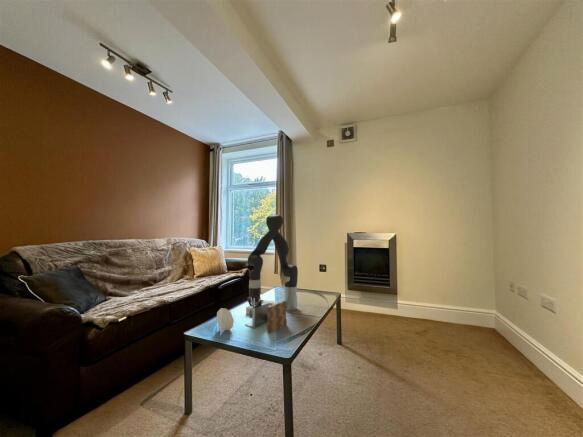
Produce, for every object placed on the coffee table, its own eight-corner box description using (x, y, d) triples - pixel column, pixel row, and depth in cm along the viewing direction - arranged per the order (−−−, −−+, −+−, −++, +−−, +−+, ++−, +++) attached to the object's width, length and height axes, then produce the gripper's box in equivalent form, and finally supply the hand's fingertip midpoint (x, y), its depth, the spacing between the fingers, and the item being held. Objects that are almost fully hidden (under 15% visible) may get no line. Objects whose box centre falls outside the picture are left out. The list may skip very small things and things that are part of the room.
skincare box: (264, 309, 163) (245, 307, 169) (265, 317, 162) (245, 315, 169) (279, 301, 182) (261, 299, 188) (279, 308, 181) (261, 306, 188)
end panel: (284, 324, 150) (284, 300, 151) (286, 325, 150) (286, 300, 150) (267, 333, 137) (267, 307, 138) (269, 334, 137) (269, 307, 137)
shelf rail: (251, 315, 167) (251, 309, 167) (286, 325, 149) (286, 318, 150) (249, 315, 166) (249, 309, 166) (285, 326, 148) (285, 319, 148)
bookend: (259, 319, 159) (259, 300, 160) (268, 321, 155) (268, 302, 155) (245, 325, 149) (245, 305, 149) (254, 328, 144) (254, 308, 145)
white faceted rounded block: (229, 338, 132) (230, 310, 132) (210, 337, 132) (211, 310, 133) (235, 330, 142) (235, 304, 143) (217, 330, 142) (218, 304, 143)
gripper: (266, 286, 153) (266, 314, 152) (251, 283, 161) (251, 310, 160) (258, 289, 147) (258, 317, 146) (243, 286, 155) (243, 313, 154)
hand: (254, 313), depth 153 cm, fingers closed
